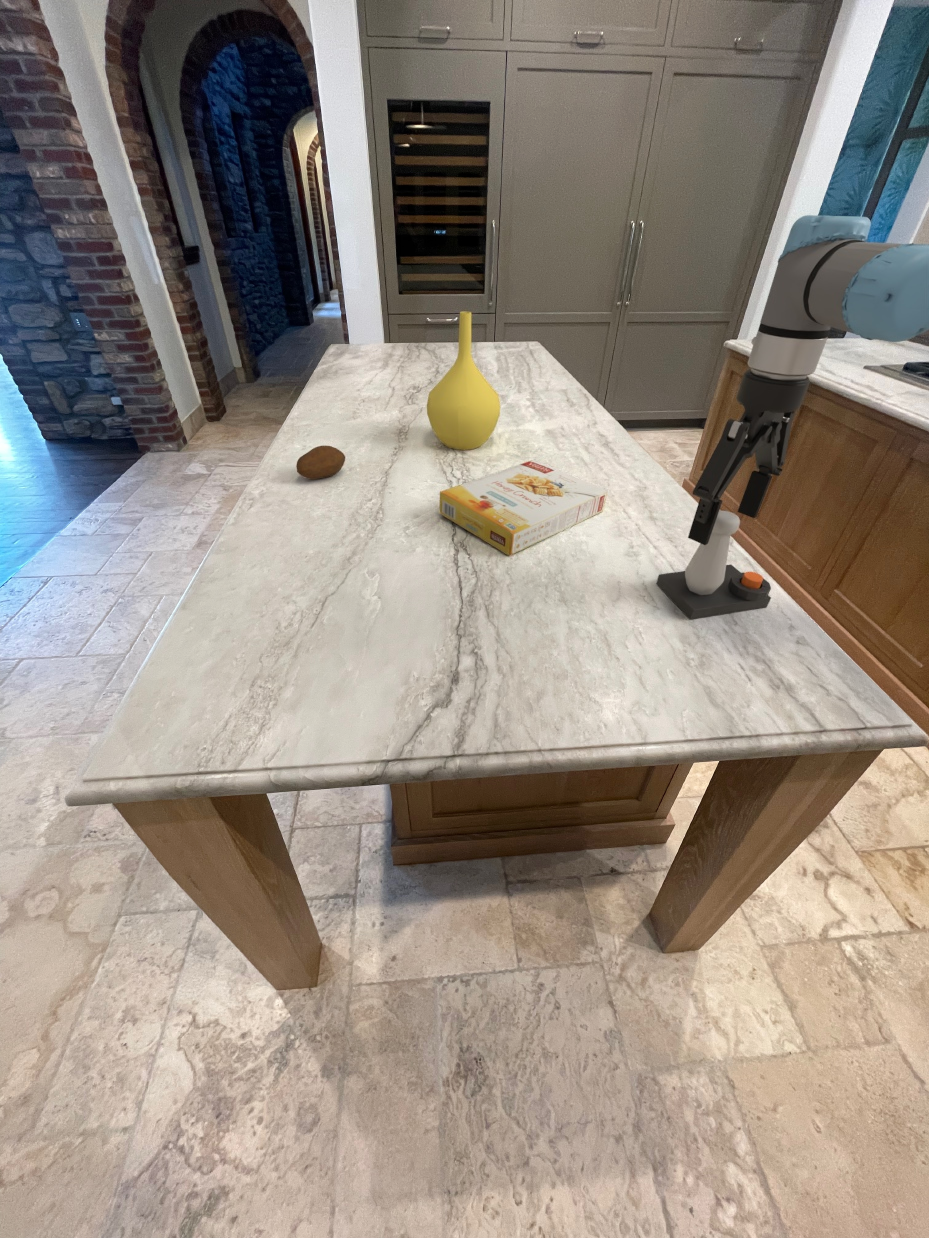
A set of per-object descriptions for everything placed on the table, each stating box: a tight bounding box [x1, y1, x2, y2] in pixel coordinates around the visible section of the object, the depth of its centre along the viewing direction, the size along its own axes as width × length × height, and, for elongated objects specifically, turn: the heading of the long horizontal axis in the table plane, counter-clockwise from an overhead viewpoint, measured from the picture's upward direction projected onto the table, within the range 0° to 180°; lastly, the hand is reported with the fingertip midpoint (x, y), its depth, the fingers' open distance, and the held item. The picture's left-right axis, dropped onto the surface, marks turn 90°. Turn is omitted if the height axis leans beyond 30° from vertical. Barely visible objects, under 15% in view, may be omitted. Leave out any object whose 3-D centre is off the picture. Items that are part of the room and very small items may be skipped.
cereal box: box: [438, 458, 608, 557], centre depth 107 cm, size 20×6×28 cm
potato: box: [295, 445, 346, 480], centre depth 118 cm, size 7×12×7 cm, turn 136°
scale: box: [655, 564, 772, 621], centre depth 86 cm, size 14×10×4 cm
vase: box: [426, 310, 501, 451], centre depth 130 cm, size 18×18×30 cm
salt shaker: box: [684, 510, 741, 595], centre depth 82 cm, size 6×6×13 cm
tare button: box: [741, 571, 764, 589], centre depth 84 cm, size 3×3×2 cm
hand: (723, 527), depth 79 cm, fingers open, 13 cm apart
